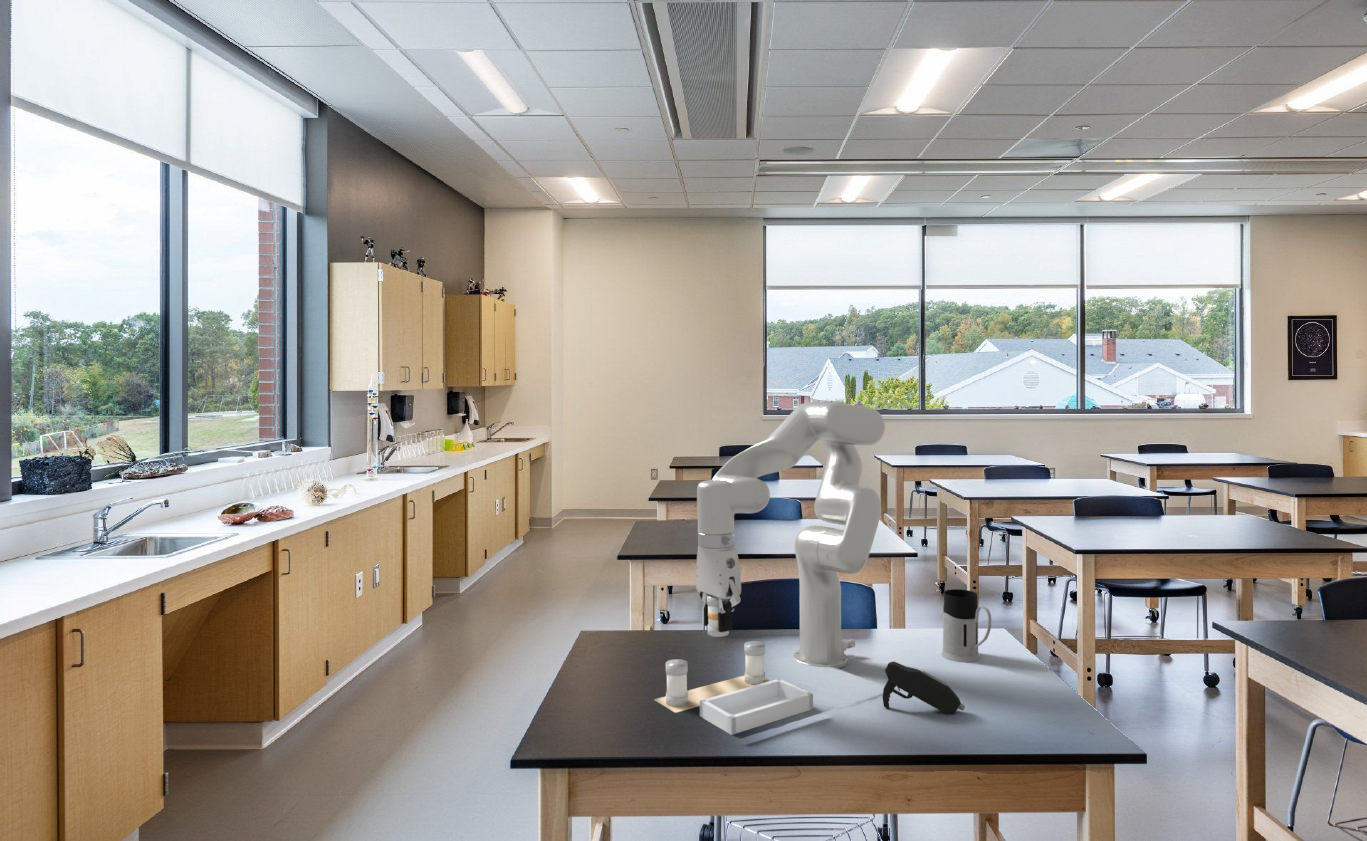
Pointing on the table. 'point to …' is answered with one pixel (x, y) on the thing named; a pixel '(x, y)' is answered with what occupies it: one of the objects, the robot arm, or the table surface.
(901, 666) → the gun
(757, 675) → the cylinder
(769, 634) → the table surface
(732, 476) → the robot arm
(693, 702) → the board
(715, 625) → the marked fuse
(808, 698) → the tray
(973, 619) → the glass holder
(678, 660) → the fuse
